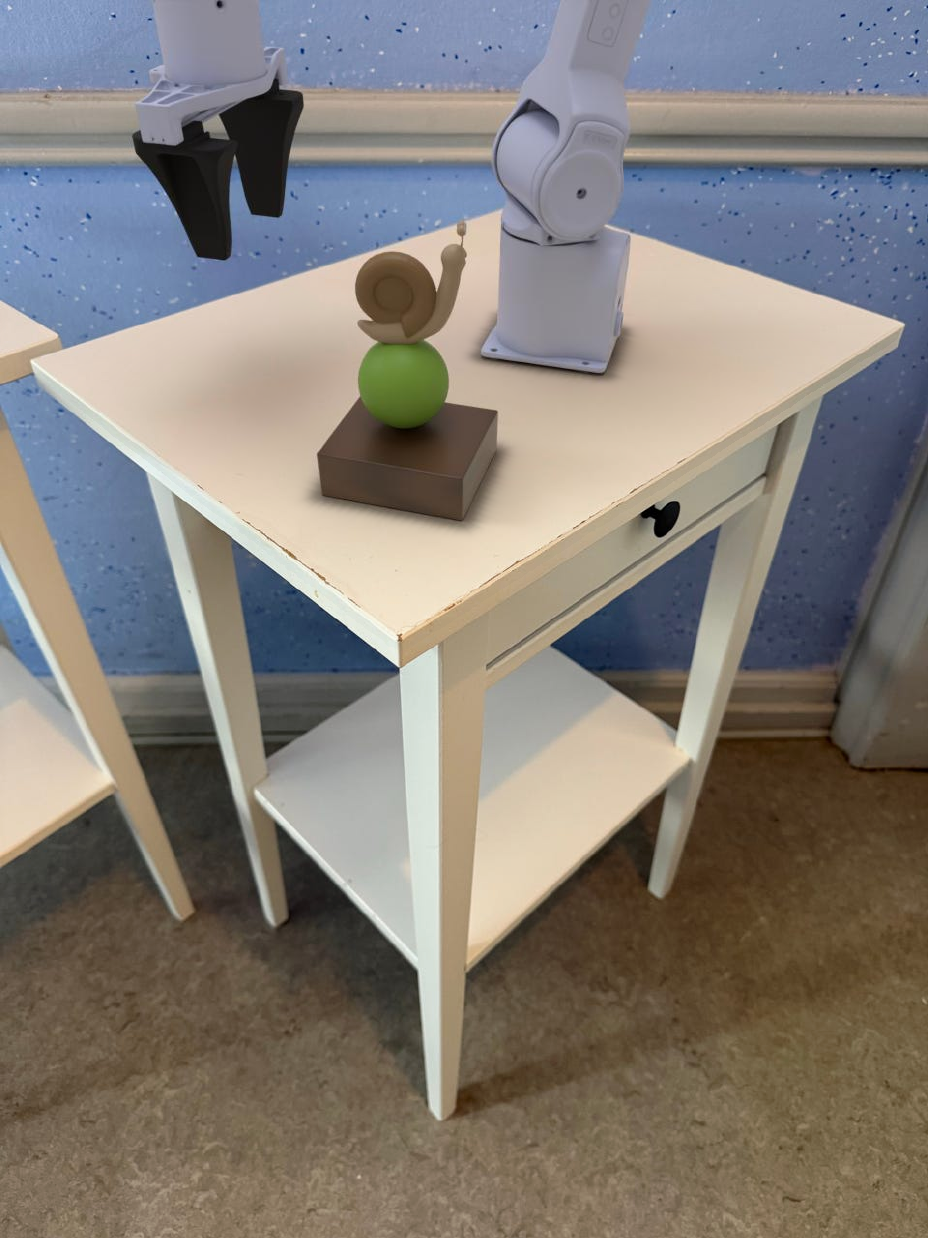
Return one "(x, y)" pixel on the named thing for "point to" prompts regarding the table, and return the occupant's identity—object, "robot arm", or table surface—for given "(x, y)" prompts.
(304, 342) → the table surface
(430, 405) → the snail figurine
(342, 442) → the walnut block
